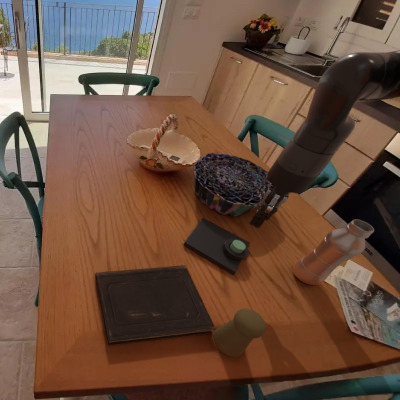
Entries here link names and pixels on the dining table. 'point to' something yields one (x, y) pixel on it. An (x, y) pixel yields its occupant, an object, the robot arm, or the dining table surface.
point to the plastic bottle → (333, 252)
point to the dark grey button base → (216, 245)
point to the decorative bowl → (229, 183)
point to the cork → (239, 332)
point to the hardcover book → (151, 305)
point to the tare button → (237, 246)
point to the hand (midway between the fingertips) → (255, 222)
